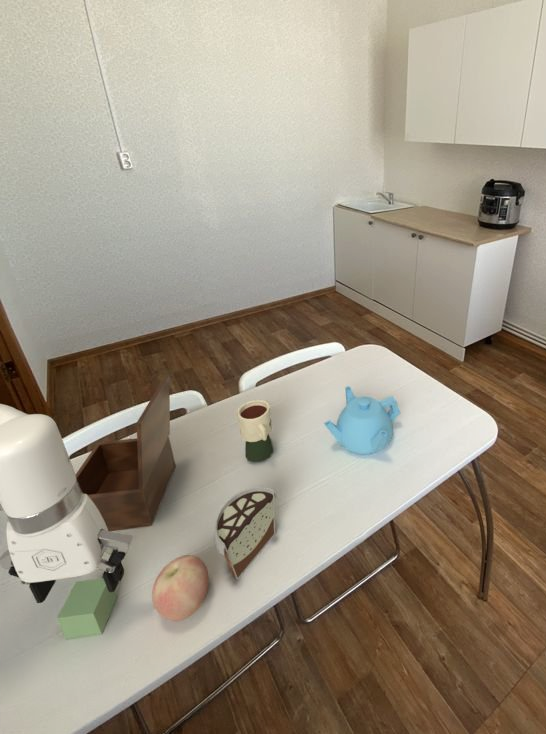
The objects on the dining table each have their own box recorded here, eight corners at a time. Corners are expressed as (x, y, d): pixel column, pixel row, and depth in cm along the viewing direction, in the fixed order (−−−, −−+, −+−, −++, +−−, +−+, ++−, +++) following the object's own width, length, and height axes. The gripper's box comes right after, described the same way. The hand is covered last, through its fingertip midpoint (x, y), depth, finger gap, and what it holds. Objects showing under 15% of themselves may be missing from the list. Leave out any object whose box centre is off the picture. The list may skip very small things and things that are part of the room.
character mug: (283, 461, 88) (278, 415, 83) (254, 477, 84) (247, 430, 79) (264, 434, 96) (259, 391, 92) (236, 447, 92) (229, 403, 88)
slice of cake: (257, 512, 76) (251, 474, 72) (280, 527, 73) (276, 488, 70) (205, 569, 66) (196, 528, 63) (230, 589, 63) (221, 547, 60)
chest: (69, 536, 72) (56, 501, 69) (107, 473, 86) (97, 442, 83) (151, 526, 74) (141, 492, 71) (175, 465, 87) (168, 435, 84)
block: (66, 639, 57) (56, 618, 55) (84, 601, 62) (76, 581, 60) (101, 634, 58) (93, 613, 56) (117, 597, 62) (109, 576, 60)
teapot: (385, 469, 85) (386, 430, 82) (324, 453, 90) (321, 415, 86) (401, 423, 99) (402, 388, 95) (347, 411, 104) (346, 377, 100)
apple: (202, 567, 66) (195, 535, 64) (219, 605, 61) (212, 572, 58) (153, 602, 61) (142, 568, 59) (166, 646, 56) (155, 612, 53)
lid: (136, 422, 65) (140, 422, 66) (166, 373, 79) (169, 374, 79) (139, 490, 70) (143, 490, 71) (166, 433, 84) (169, 433, 84)
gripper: (-50, 539, 47) (0, 626, 53) (100, 519, 49) (132, 606, 54) (-3, 487, 54) (36, 569, 60) (127, 471, 56) (152, 553, 61)
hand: (82, 586), depth 57 cm, fingers open, 9 cm apart
